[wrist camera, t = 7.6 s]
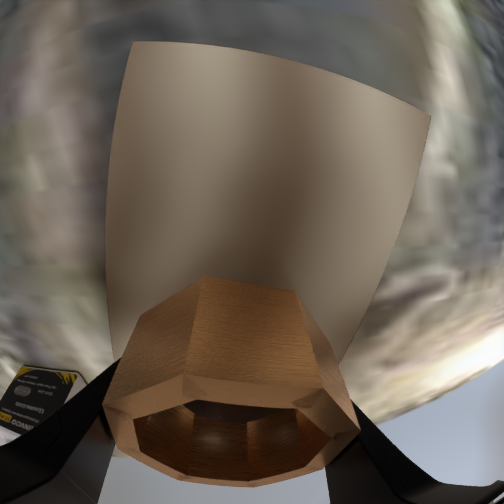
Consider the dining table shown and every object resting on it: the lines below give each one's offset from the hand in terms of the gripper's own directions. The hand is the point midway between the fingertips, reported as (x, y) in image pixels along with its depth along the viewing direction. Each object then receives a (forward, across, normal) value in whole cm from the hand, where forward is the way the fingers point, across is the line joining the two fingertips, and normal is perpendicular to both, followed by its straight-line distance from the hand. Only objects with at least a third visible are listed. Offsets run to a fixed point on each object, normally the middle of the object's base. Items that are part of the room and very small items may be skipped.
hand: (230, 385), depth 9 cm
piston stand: (+5, 0, -2) cm, 6 cm away
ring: (+1, 0, 0) cm, 1 cm away
